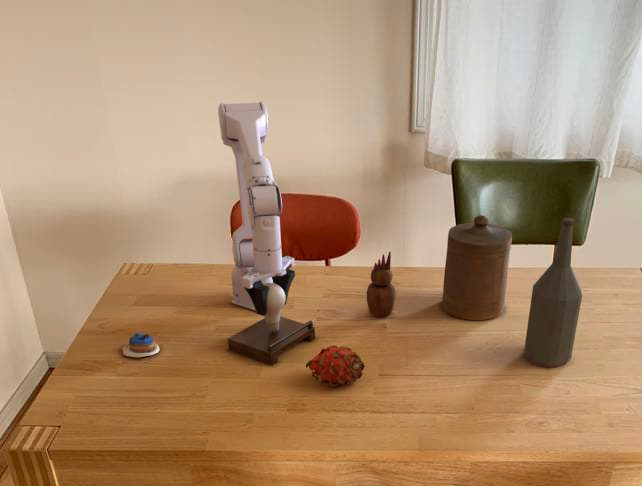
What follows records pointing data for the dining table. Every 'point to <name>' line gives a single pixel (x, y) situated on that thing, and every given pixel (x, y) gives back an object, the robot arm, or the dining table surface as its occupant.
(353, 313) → the dining table surface
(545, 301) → the bottle
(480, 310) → the wooden container
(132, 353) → the dessert
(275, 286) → the lightbulb
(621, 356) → the dining table surface
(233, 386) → the dining table surface
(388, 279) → the wooden figurine
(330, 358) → the dragon fruit
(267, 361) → the shelf
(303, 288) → the dining table surface
